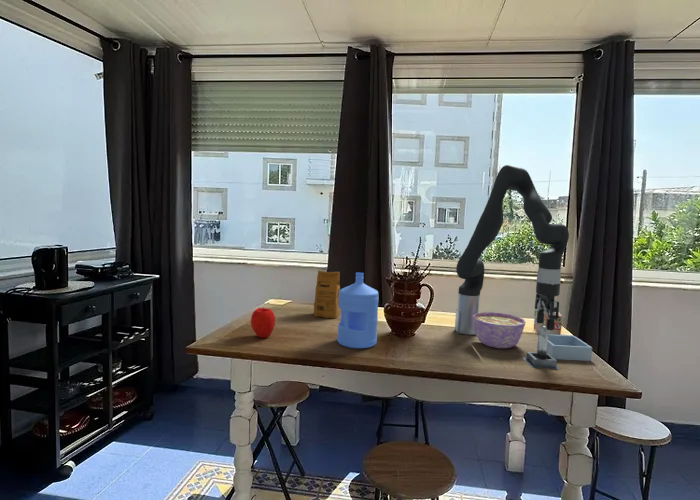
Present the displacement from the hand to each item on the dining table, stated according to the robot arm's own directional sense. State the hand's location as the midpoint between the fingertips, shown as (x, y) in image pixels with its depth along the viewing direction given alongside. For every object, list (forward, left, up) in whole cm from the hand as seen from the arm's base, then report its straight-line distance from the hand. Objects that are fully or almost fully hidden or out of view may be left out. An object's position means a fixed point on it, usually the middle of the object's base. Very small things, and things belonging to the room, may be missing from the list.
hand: (544, 326), depth 152 cm
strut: (0, 0, -13) cm, 13 cm away
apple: (-104, +16, -15) cm, 106 cm away
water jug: (-66, +15, -15) cm, 69 cm away
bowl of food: (-10, +19, -15) cm, 26 cm away
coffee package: (-82, +53, -15) cm, 99 cm away
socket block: (0, 0, -14) cm, 14 cm away
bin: (+13, +12, -14) cm, 23 cm away
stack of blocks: (+17, +38, -15) cm, 44 cm away
